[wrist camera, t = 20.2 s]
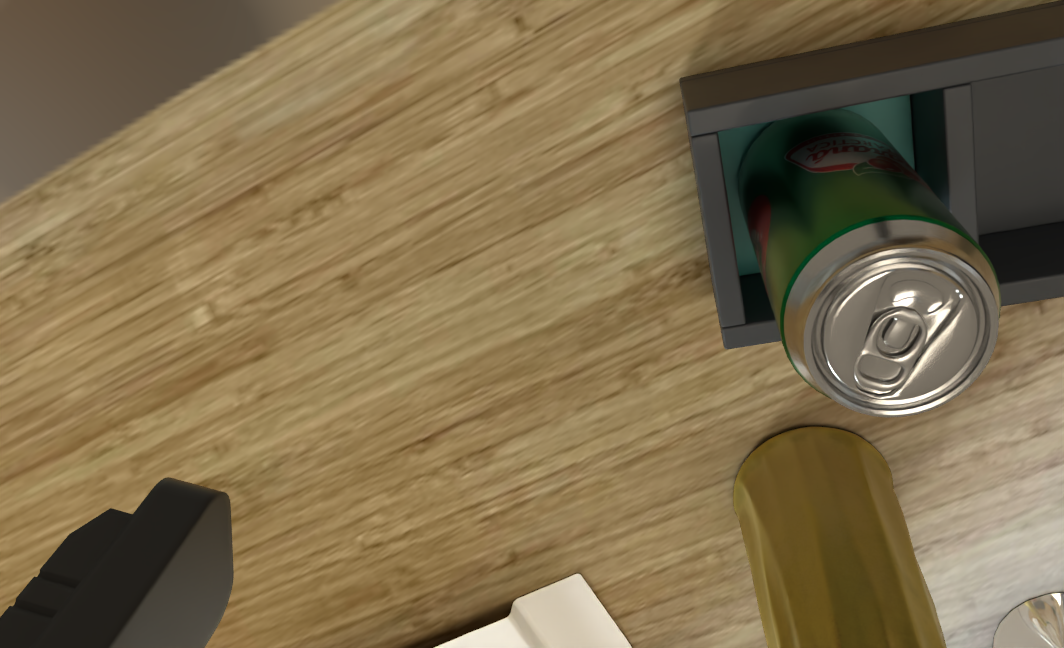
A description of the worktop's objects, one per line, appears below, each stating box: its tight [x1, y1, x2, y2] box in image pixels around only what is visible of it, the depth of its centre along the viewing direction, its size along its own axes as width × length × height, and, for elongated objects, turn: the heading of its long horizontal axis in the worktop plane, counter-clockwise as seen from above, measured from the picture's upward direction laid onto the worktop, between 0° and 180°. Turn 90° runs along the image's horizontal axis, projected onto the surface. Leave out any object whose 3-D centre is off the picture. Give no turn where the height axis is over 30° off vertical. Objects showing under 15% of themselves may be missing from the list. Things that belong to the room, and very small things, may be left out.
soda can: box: [738, 108, 1001, 417], centre depth 28 cm, size 5×5×12 cm
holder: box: [680, 0, 1064, 349], centre depth 32 cm, size 8×15×5 cm, turn 103°
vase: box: [733, 427, 947, 648], centre depth 34 cm, size 6×6×14 cm
